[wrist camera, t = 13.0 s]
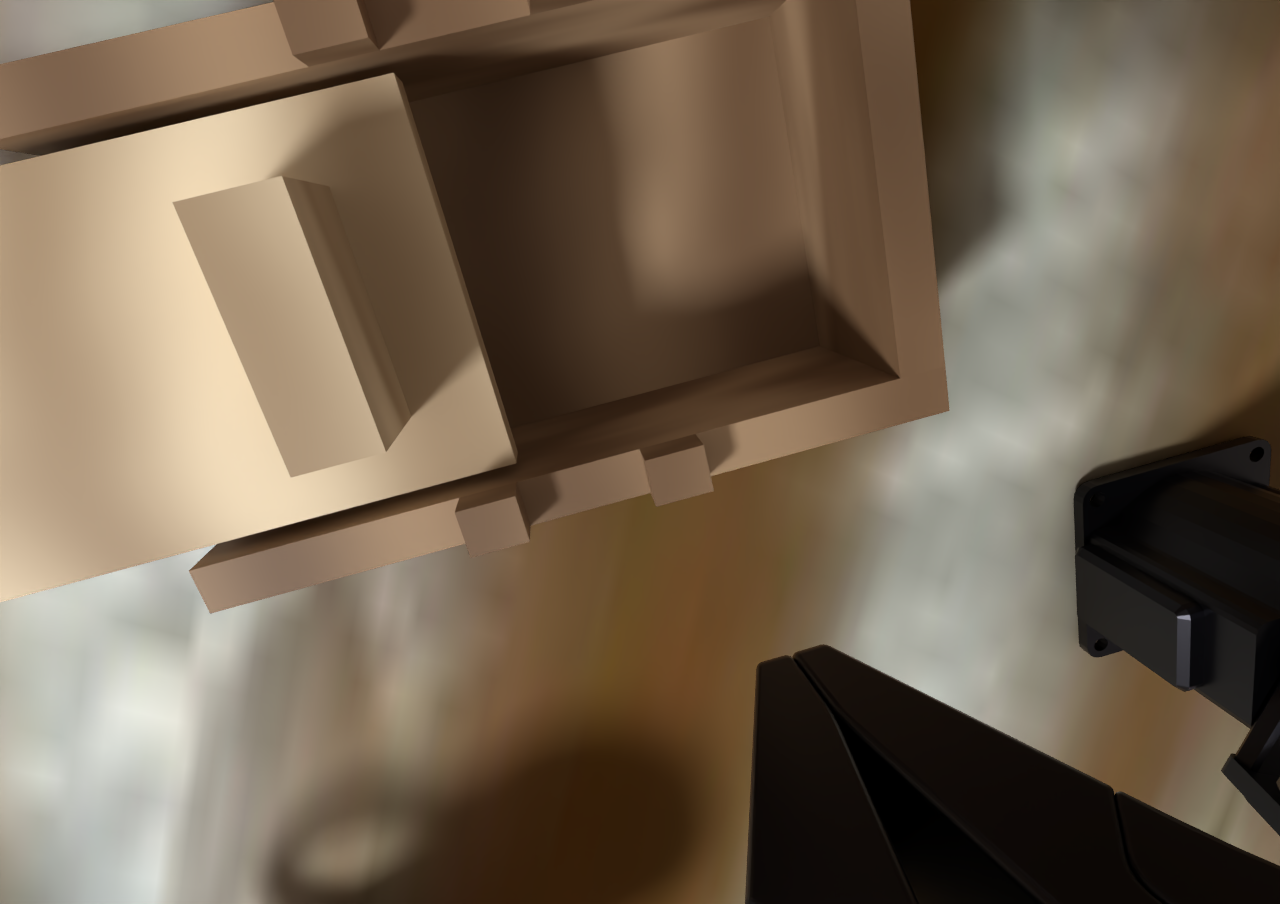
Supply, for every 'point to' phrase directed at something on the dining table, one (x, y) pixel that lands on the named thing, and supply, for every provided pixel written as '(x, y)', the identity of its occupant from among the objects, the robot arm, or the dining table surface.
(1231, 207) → the dining table surface
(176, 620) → the dining table surface
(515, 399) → the toolbox
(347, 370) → the sliding box lid
